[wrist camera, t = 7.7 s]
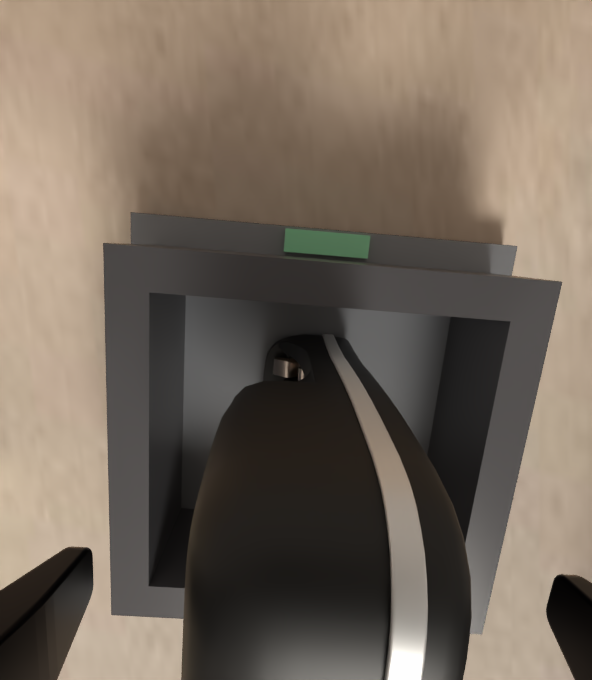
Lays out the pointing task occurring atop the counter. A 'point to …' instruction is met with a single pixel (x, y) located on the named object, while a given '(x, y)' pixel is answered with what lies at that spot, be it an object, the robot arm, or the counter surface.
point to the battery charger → (322, 535)
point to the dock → (311, 319)
